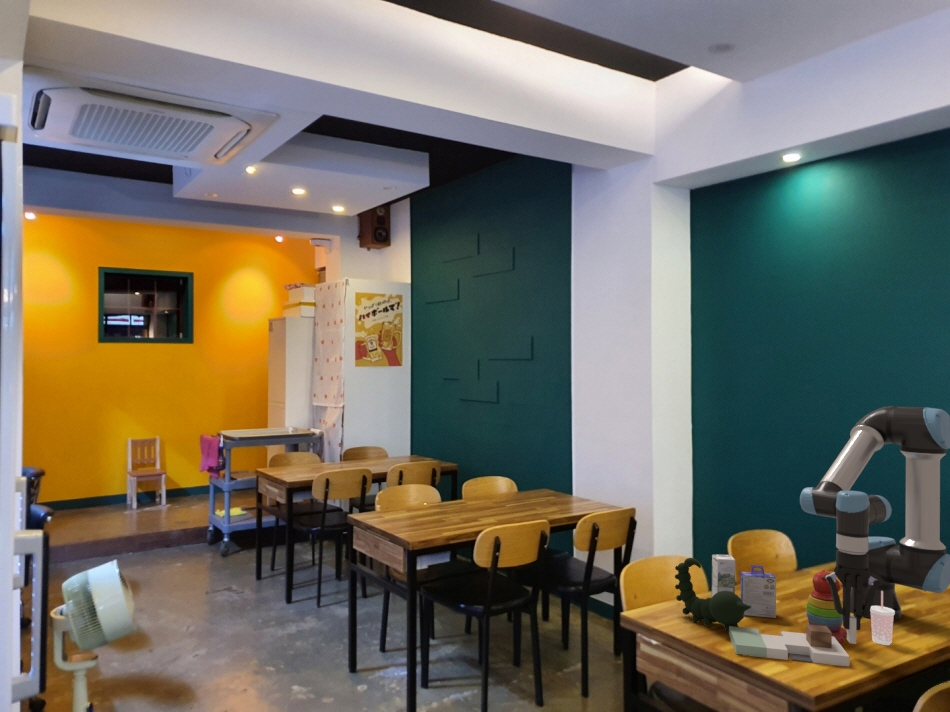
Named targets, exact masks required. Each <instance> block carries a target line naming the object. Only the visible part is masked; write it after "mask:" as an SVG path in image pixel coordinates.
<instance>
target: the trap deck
mask: <svg viewBox="0 0 950 712" xmlns="http://www.w3.org/2000/svg"><path fill="white" fill-rule="evenodd" d="M728 636H729V638H730V641H731V644H732V647H733V649H735V650H734V652H736V653H735V655H737V654H744V655H743V656H746V655H749V657H758V658H765V659H766V658H768V659H776V660H784V661H785V660H786V661H789V658H790V659H791V661H792V662H793V661H794V662H804V663H813V664H814V663H815V664H821V665H832V666H840V667H841V666H842V667H850V655H849V654H848V653H847V651H846V650H845V649H844V648H843V646H842V645H841V644H839V642H838V641H837V640H836V638H835V637H834V636H832V648H822V647H813V646H810V644H809V643H808V641H807V640H806V633H802V632H794V631H793V632H792V631H784V630H783V631H780V635H772V634H766V633H765V634H763V633H761V632H760V631H759V629H758V628H754V627H753V628H751V627H741V626H738V627H734V626H729V632H728ZM788 656H789V657H788Z"/></svg>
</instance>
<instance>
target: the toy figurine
mask: <svg viewBox="0 0 950 712" xmlns="http://www.w3.org/2000/svg"><path fill="white" fill-rule="evenodd" d="M693 566H696V567H697V568H698V569H701V568H702V566H701V563H700V562H699V560H697V558H694V557H688V558H686V559H685V560H684V561H683V562H681V563H679V564H678V565H676V566H674V569H675V571H677V574H675V575H674V578H675V580H678V581H679V582H678V584H675V586H674V588H675V590H679V591H680V592H679V594H678V595H676V596H675V597H676V601H677V602H678V601H679V602H681V601H682V602H683V603H684V606H685V607H684V608H682V613H683V614H684V615H685V616H687V615H690V613H691V615H692V621H693V622H694V623H699V622H700V621H703V622H702V623H703V624H704V625H706V626H707V627H710V626H712V625H713V623H718V624H721V625H723V628H724V630H725V631H726V633H729V626H734V627H739V625H738V624H739V623H740V622H742V620H743V619H744V618H745V615H744V612H745V611H746V610H748V609H750V606H749V605H746V604H744V603H743V602H742V600H741V597H740V596H739V595H737V594H736V593H733V592H731V591H720V592H718V593H716V594H715V595H714V596H713V597H706V598H702V597H699V596H698V595H696V594H697V593H696V591H695V590H694V585H693V582H692V581H691V579H692V576H691V573H690V572H689V571H690V567H693Z"/></svg>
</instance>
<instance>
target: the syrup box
mask: <svg viewBox="0 0 950 712" xmlns="http://www.w3.org/2000/svg"><path fill="white" fill-rule="evenodd" d="M711 557H712V558H711V559H712V560H711V597H710V598H712V597H713V596H714V595H715V594H716V593H718V592H720V591H731V592H733V593H735V592H736V559H735V558H734V557H733V556H732V555H730V554H712V555H711ZM735 594H736V593H735Z"/></svg>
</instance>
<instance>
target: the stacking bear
mask: <svg viewBox="0 0 950 712" xmlns="http://www.w3.org/2000/svg"><path fill="white" fill-rule="evenodd" d="M831 573H832V572H830V571H829V572H828V571H826V569H822V570H821V571H817V572H816V573H815V574H814V575H813V576H812V586H813V588H814V590H812V591H811V592H810V594H809V595H808V598H807V602H806V610H805V611H806V617H807V623H808V624H809V625H819V626H827V627H828V629H829V630H830V631H831V633H832V636H834V637H835V638H836V640H837V641H838V642H839V644H840V645H841V644H844V643H846V638H845V637H847V629H845V628H844V627H842V626H843V615H842V614H839V613H838V612H837V611H836V610H835V606H834V602H833V598H832V594H831V590H830V586H829V583H828V581H827V580H826V578H825V575H826V574H828V575H829V574H831ZM835 584H836V587H837V591H838V593H839V592H840V591H841V589H842V583H841V582H840V580H839V579H838V578H836V582H835ZM839 599H840V603H841V607H842V609H843V603H842V601H841V600H842V599H841V597H840V596H839Z"/></svg>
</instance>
